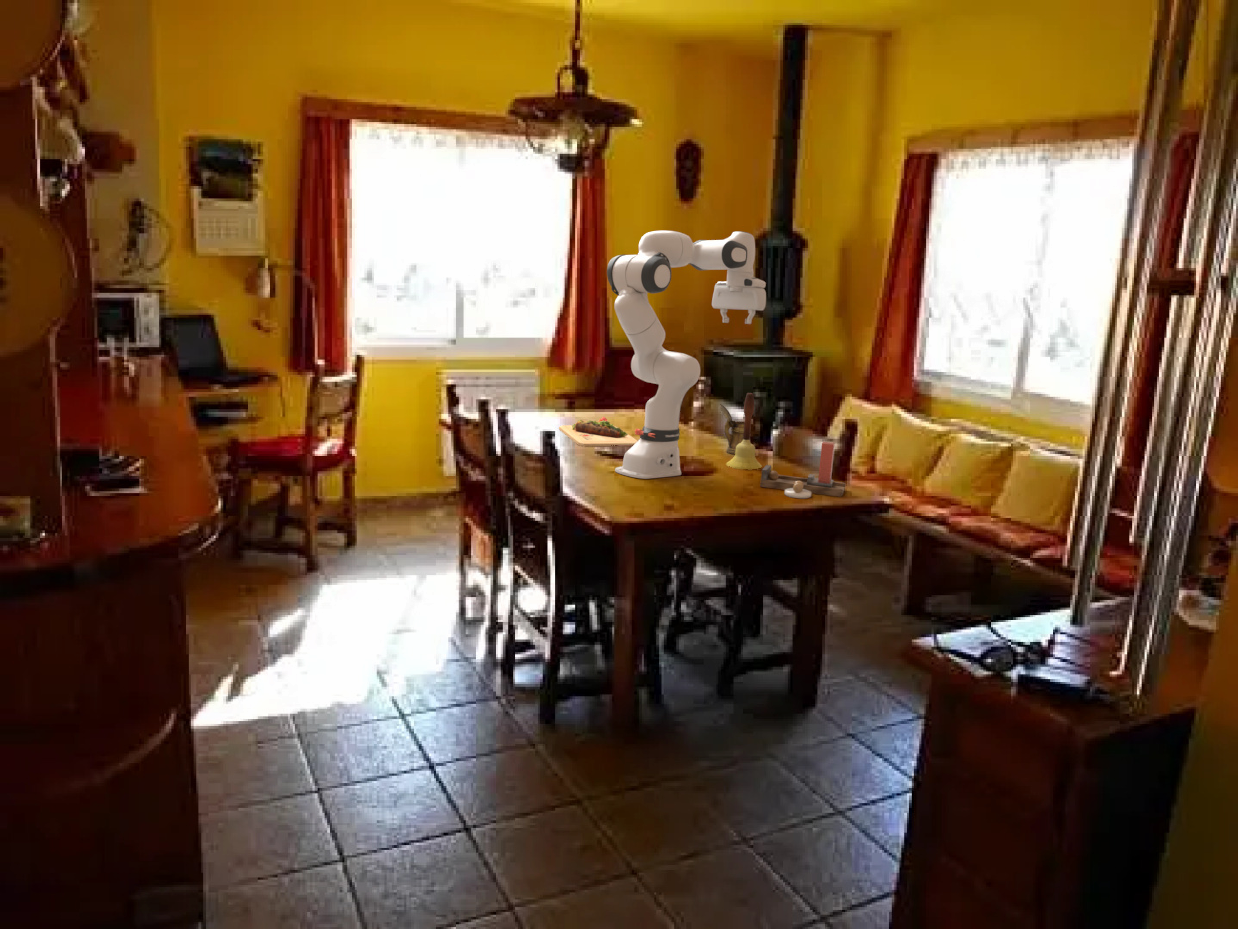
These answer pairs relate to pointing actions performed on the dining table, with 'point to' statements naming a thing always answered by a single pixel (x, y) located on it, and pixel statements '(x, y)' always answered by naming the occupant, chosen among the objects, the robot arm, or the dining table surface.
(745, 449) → the handbell
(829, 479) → the jaw slider
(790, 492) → the nut dish
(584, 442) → the cutting board
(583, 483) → the dining table surface
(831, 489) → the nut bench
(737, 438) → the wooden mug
